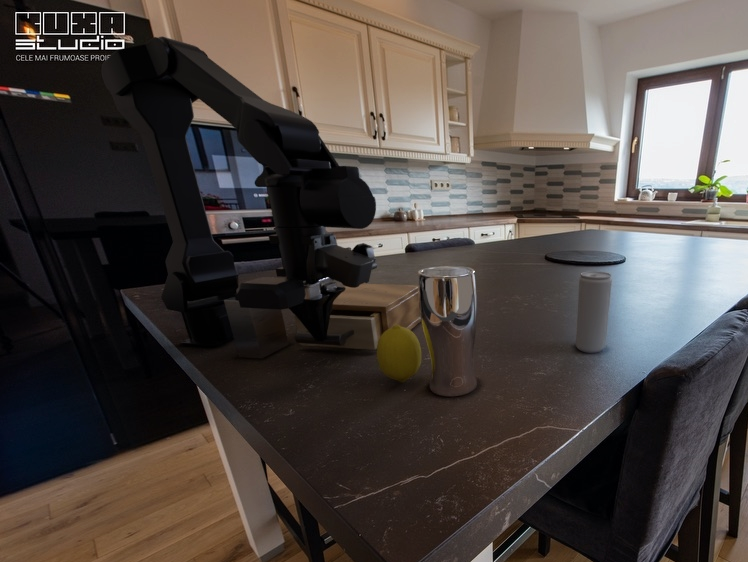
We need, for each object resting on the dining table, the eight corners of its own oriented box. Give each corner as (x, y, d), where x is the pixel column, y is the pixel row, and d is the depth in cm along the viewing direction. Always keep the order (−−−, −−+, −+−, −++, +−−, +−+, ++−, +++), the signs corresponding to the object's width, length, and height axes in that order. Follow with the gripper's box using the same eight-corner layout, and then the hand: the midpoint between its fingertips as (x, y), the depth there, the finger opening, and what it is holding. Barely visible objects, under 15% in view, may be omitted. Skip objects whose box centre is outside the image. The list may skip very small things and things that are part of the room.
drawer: (360, 361, 56) (356, 328, 55) (281, 356, 58) (274, 324, 56) (409, 322, 73) (407, 296, 71) (346, 319, 75) (342, 294, 73)
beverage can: (611, 347, 64) (618, 274, 59) (595, 356, 60) (601, 279, 56) (585, 340, 67) (590, 270, 62) (569, 348, 63) (573, 274, 59)
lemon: (413, 393, 49) (406, 333, 46) (372, 389, 50) (364, 330, 47) (430, 374, 54) (425, 319, 52) (393, 371, 55) (386, 317, 53)
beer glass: (457, 404, 47) (450, 279, 42) (414, 389, 50) (403, 272, 45) (490, 381, 52) (488, 269, 47) (450, 370, 56) (443, 263, 50)
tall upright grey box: (238, 357, 60) (221, 294, 57) (267, 343, 66) (253, 285, 62) (262, 359, 59) (246, 295, 56) (289, 344, 65) (276, 286, 62)
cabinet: (390, 346, 64) (385, 306, 62) (312, 342, 66) (305, 302, 64) (423, 319, 78) (420, 285, 75) (357, 316, 80) (353, 283, 77)
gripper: (312, 234, 40) (336, 372, 46) (392, 221, 58) (402, 323, 63) (217, 232, 42) (251, 366, 48) (322, 220, 59) (338, 319, 65)
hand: (321, 340), depth 56 cm, fingers closed
